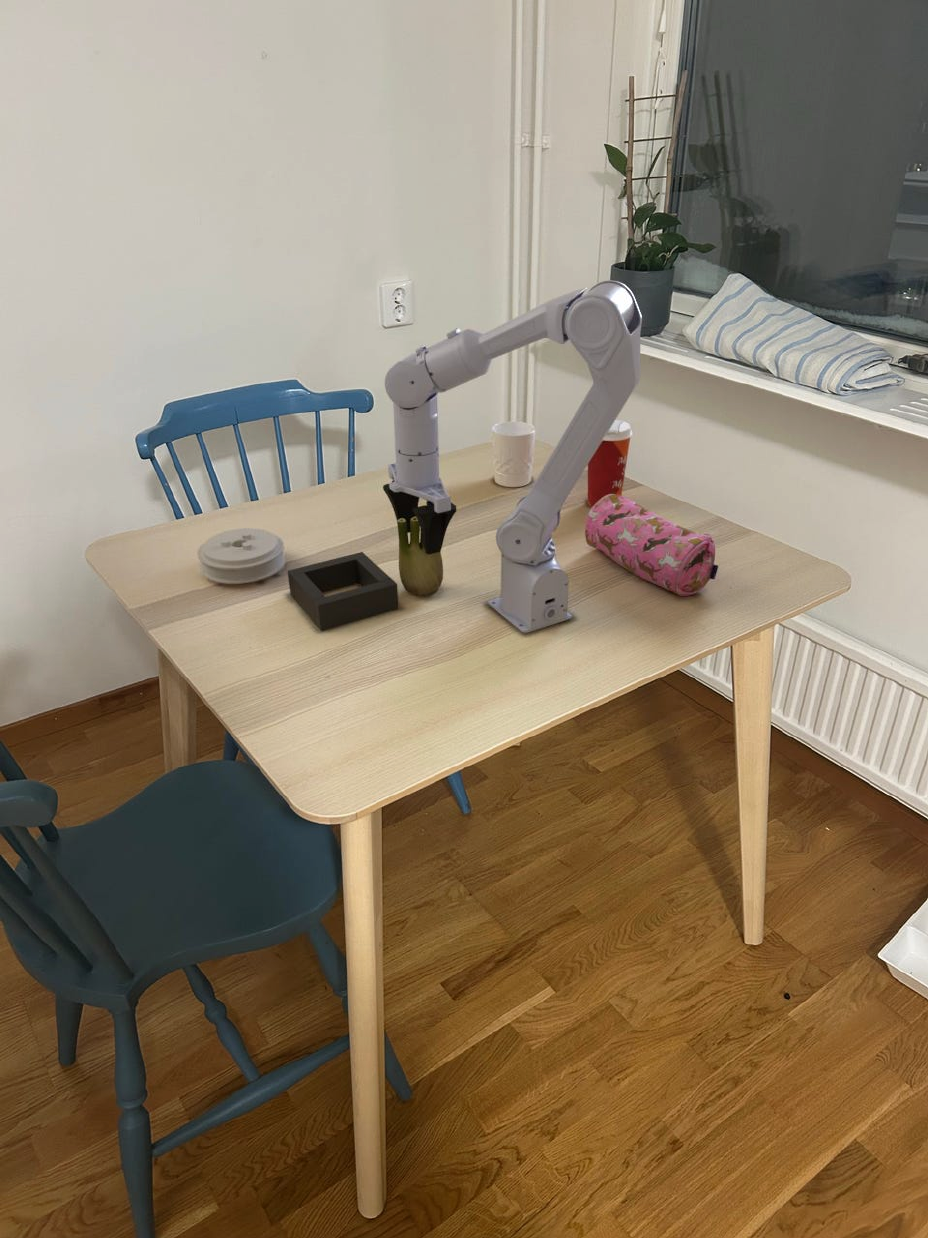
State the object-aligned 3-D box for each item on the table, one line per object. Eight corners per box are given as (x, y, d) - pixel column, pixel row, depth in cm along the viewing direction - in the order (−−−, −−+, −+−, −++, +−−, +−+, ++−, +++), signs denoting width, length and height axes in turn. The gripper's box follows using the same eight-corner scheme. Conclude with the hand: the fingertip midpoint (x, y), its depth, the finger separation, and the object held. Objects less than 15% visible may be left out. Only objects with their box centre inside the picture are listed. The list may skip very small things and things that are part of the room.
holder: (398, 609, 124) (397, 583, 122) (320, 631, 119) (318, 605, 117) (364, 575, 132) (362, 551, 130) (290, 595, 127) (287, 570, 125)
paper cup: (629, 512, 151) (636, 432, 144) (584, 512, 152) (589, 432, 144) (622, 494, 158) (629, 417, 151) (579, 494, 158) (584, 417, 151)
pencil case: (721, 588, 128) (730, 532, 124) (675, 606, 124) (683, 549, 119) (618, 536, 143) (623, 484, 139) (574, 551, 139) (578, 498, 134)
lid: (261, 594, 128) (257, 563, 125) (184, 583, 131) (178, 552, 128) (300, 556, 138) (297, 527, 136) (228, 546, 141) (223, 517, 139)
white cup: (488, 487, 161) (488, 434, 156) (494, 471, 168) (494, 420, 163) (531, 489, 160) (533, 436, 155) (535, 473, 167) (537, 422, 162)
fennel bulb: (398, 597, 127) (394, 520, 120) (407, 581, 131) (404, 506, 125) (437, 601, 125) (435, 524, 119) (446, 585, 130) (444, 509, 123)
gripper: (366, 437, 121) (372, 528, 128) (415, 471, 110) (418, 569, 117) (412, 429, 124) (415, 518, 131) (464, 461, 113) (465, 556, 120)
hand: (420, 541), depth 124 cm, fingers open, 7 cm apart
